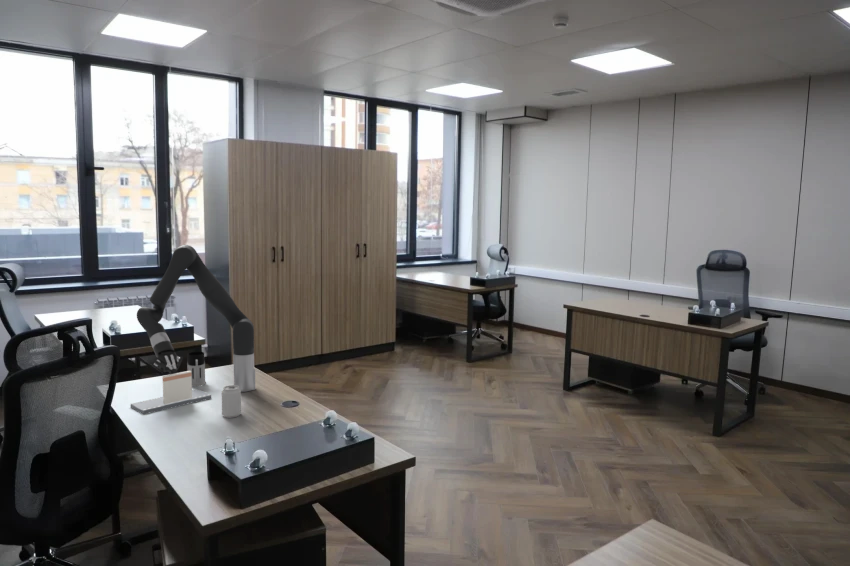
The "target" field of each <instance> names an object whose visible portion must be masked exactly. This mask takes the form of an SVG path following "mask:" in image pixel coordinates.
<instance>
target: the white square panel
mask: <svg viewBox="0 0 850 566" xmlns="http://www.w3.org/2000/svg"><path fill="white" fill-rule="evenodd" d="M192 390H193V386H192V374H191V371H187V370H186V371H180V372H178V373H175V374H165V375H162V397H163V404H168V403H173V402H177V401H181V400H186V399H190V398H192Z"/></svg>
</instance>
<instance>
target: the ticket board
mask: <svg viewBox="0 0 850 566" xmlns="http://www.w3.org/2000/svg"><path fill="white" fill-rule="evenodd" d="M205 399H206V400H210V399H212V394H210V393H208V392H206V391H203V390H201V389H198V388H196V389H192V398H190V399H186V400H181V401H177V402H173V403H168V404H163V396H160V397H156V398H151V399H147V400H142V401H138V402H133V403H130V408H131V409H133V410H135V411H136V410H137V412H138V411H139V412H138V413H140V412H141V413H140V414H142V415H145V414H150V413H149V412H151V413H155V412H158V410H159V411H162V409H163V410H167V408H168V409H172V408H175V406H176V407H180V406H184V405H183V404H185V405H188V404H187V403H189V404H192V403H191V402H193V403H197V402H196V401H198V402H201V400H202V401H205ZM179 405H180V406H179ZM171 407H172V408H171ZM154 411H155V412H154Z"/></svg>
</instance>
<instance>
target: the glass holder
mask: <svg viewBox="0 0 850 566" xmlns="http://www.w3.org/2000/svg"><path fill="white" fill-rule="evenodd" d="M186 365H187V370H186V371H191V374H192V387H193V386H194V387H201V385H202V386H205V385H206V384H207V381H206V362H205V352H203V351H190V352H188V353H187V363H186ZM204 384H205V385H204Z"/></svg>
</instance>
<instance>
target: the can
mask: <svg viewBox="0 0 850 566" xmlns="http://www.w3.org/2000/svg"><path fill="white" fill-rule="evenodd" d="M241 414H242V392H241V390H240V389H239V386H236V385H234V384H233V385H226V386H224V387H223V389H222V390H221V415H222V416H223V417H224V418H226V419H227V418H228V419H233V418H237V417H239V416H240V415H241Z"/></svg>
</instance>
